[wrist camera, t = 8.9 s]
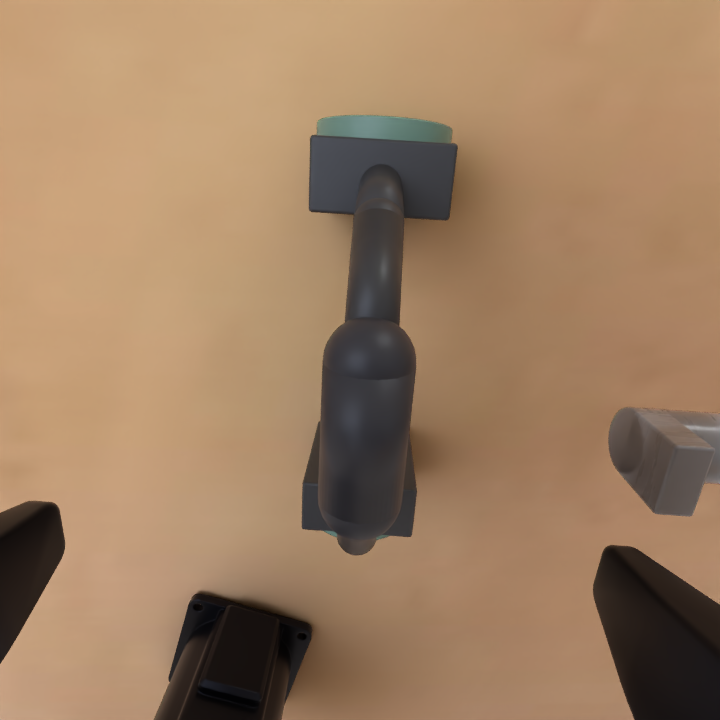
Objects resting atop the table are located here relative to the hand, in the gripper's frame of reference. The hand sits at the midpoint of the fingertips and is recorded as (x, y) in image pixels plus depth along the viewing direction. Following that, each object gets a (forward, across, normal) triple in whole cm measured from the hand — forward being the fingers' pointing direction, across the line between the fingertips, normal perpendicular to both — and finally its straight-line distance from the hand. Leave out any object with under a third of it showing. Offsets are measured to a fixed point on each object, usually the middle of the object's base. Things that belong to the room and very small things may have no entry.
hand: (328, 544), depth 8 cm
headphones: (+12, 0, 0) cm, 13 cm away
